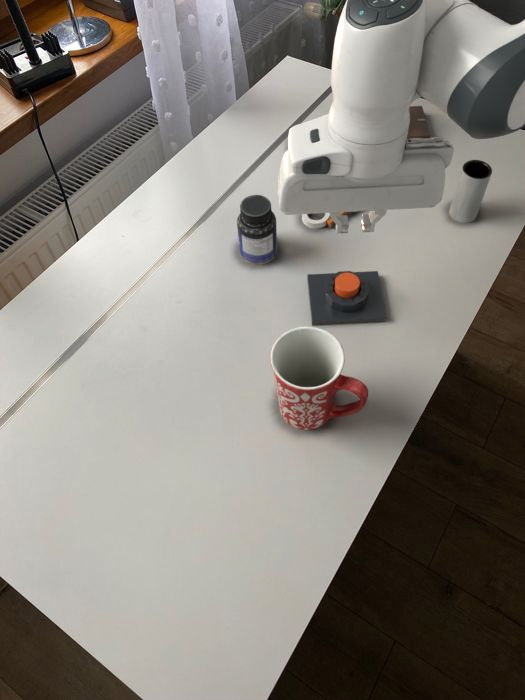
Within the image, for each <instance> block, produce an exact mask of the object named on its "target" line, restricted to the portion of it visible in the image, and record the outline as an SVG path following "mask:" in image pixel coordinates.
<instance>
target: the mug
mask: <svg viewBox="0 0 525 700" xmlns="http://www.w3.org/2000/svg"><path fill="white" fill-rule="evenodd" d="M269 360H270V366H271V369H272V371H273V376H274V383H275V390H276V396H277V401H278V410H279V413H280V416H281V417H282V419H283V421H285V423H286V424H287V425H289V426H291V427H292V428H295V429H297V430H301V431H311V430H316V429H319V428H321V427H322V426H324V425H326V423H327V422H328V421H329V420H330V419H332V418H341V417H347V416H351V415H354V414H357V413H358V412H360V411H362V409H364V407H365V406H366V404H367V402H368V398H369V389H368V387H367V385H366V384H365V383H364V382H363V381H361V380H359V379H357V378H354V377H352V376H347V375H344V374H342V372H343V370H344V367H345V361H346V355H345V350H344V348H343V345H342V343H341V342H340V341H339V339H338V338H337V337H336V336H335V335H333V334H332V333H331V332H330V331H327V330H325V329H323V328H320V327H317V326H316V327H315V326H298V327H295V328H292V329H289V330H287V331H285V332H284V333H282V334H281V335H280V336H279V337H278V338H277V339H276V340H275V342H274V343H273V345H272V348H271V350H270V356H269ZM339 391H348V392H350V393H352V394H354V395H356V396H357V397H358V399H357V400H356V401H353V402H349V403H345V404H337V403H335V400H336V396H337V393H338V392H339Z"/></svg>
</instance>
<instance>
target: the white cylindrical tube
mask: <svg viewBox="0 0 525 700" xmlns="http://www.w3.org/2000/svg"><path fill="white" fill-rule="evenodd" d="M492 175H493V168H492V166H491V165H490V164H489V163H487V162H486V161H484V160H482V159H481V160H480V159H470V160H467V161H466V162H465V163H464V164H463V165H462V167H461V169H460V174H459V177H458V180H457V183H456V187H455V190H454V194H453V196H452V200H451V204H450V207H449V211H448V214H449V216H450V217H451V218H452V219H453V220H454V221H456V222H458V223H462V224H467V223H472V222H473V221H475V220H476V219H477V216H478V214H479V211H480V207H481V205H482V202H483V199H484V197H485V194H486V192H487V191H486V190H487V188H488V185H489V182H490V180H491V177H492Z"/></svg>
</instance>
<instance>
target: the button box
mask: <svg viewBox="0 0 525 700" xmlns="http://www.w3.org/2000/svg"><path fill="white" fill-rule="evenodd" d="M342 273H352V274H354V275H356V276H357V277H358V278H359V280H360V286H359V291H358V294H357V295H356V296H355V297H353V298H349V299H346V298H342V297H340V296H338V295H337V294H336V292H335V280H336V278H337V276H339V275H340V274H342ZM306 282H307V290H308V301H309V312H310V322H311V327H315V326H332V325H351V324H352V325H353V324H374V323H375V324H376V323H386V320H387V313H386V307H385V303H384V301H385V300H384V297H383V296H384V295H383V291H382V285H381V280H380V274H379V270H372V271H371V270H369V271H351V270H343V271H342V270H341V271H337V272H331V273H330V272H329V273H328V272H327V273H309V274H307V275H306Z"/></svg>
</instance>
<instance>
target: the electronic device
mask: <svg viewBox="0 0 525 700" xmlns="http://www.w3.org/2000/svg"><path fill="white" fill-rule="evenodd" d="M354 213H357V211H355V212H341V215H347V217H348V218H349V217H350V216H351V215H352V214H354ZM309 215H311V216H312V217H313V218H315V219H312V218H310V217H309ZM301 220H302V223H303V225H305V226H306V227H307V228H311V229H316V230H317V229H322V228H324V227H327V228H329V229H330V230H332V229H333V228H334V227H336V224H335V222H334V221H333V220H332V219H331V217H330V213H315V214H301Z"/></svg>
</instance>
